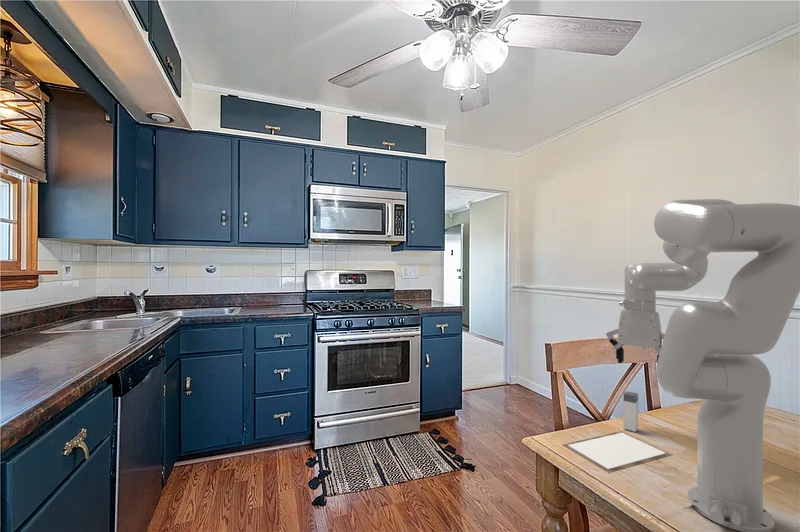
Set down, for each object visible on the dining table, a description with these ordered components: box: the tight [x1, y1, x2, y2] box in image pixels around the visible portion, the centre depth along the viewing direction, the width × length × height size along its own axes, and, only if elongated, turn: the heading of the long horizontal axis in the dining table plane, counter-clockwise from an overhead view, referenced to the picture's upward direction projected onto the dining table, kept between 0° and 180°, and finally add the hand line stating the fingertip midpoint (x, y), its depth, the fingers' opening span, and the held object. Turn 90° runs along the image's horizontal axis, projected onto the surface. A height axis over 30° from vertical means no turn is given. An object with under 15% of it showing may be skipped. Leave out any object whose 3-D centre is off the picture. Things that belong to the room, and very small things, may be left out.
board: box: [562, 430, 673, 474], centre depth 94 cm, size 22×14×1 cm, turn 111°
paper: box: [568, 432, 666, 470], centre depth 94 cm, size 20×12×1 cm, turn 111°
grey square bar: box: [623, 390, 639, 433], centre depth 105 cm, size 3×3×11 cm
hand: (639, 365), depth 105 cm, fingers open, 9 cm apart
